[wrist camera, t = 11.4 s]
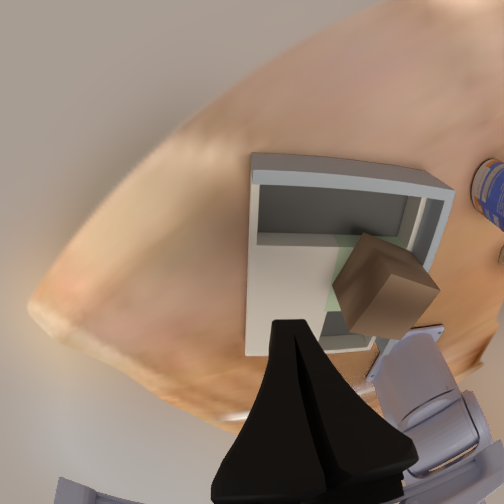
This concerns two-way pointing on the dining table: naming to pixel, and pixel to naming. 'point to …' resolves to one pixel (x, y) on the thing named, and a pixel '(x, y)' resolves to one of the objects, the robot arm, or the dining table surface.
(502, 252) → the grandmother figurine
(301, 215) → the board
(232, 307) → the dining table surface
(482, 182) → the pill bottle
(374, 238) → the walnut block
